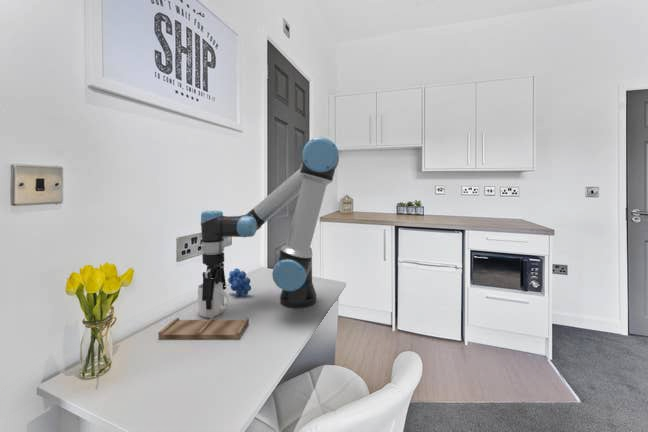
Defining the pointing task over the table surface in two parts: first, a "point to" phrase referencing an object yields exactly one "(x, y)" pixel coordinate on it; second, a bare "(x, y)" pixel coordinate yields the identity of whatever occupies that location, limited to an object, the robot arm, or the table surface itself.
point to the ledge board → (204, 329)
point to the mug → (217, 298)
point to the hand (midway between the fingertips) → (215, 311)
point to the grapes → (239, 282)
